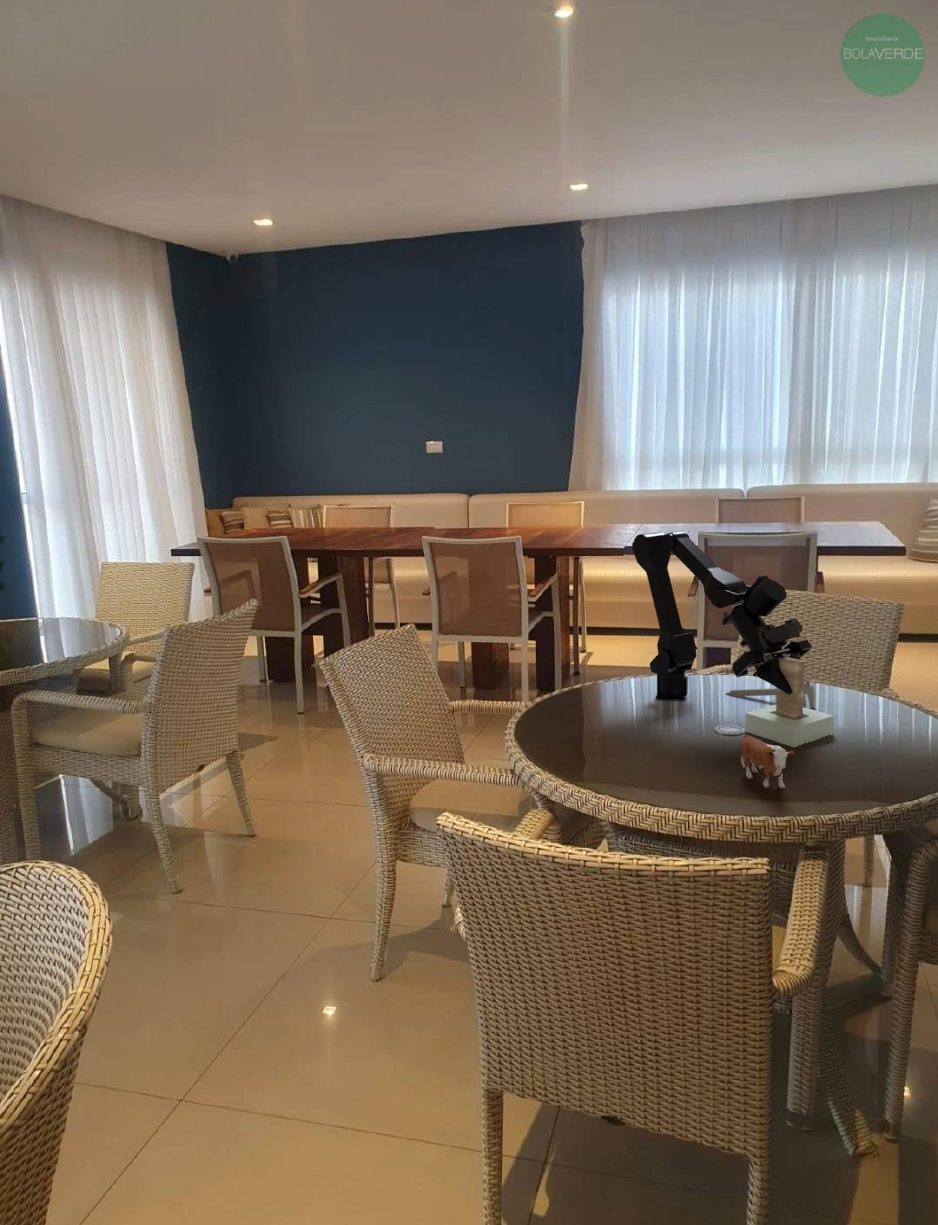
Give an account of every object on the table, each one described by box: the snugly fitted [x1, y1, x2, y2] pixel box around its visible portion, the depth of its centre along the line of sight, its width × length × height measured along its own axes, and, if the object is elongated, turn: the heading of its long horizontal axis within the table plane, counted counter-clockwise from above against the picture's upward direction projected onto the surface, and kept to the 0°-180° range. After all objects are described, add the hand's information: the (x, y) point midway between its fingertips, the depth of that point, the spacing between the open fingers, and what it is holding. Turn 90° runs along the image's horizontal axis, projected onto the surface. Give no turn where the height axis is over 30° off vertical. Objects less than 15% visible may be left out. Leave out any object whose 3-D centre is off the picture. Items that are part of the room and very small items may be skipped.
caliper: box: [725, 680, 816, 709], centre depth 199 cm, size 20×1×6 cm, turn 50°
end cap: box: [744, 704, 835, 748], centre depth 178 cm, size 12×12×4 cm
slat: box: [775, 657, 805, 720], centre depth 177 cm, size 2×4×13 cm, turn 32°
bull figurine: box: [739, 734, 795, 790], centre depth 153 cm, size 4×13×8 cm, turn 14°
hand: (795, 692), depth 175 cm, fingers closed on slat, 2 cm apart
